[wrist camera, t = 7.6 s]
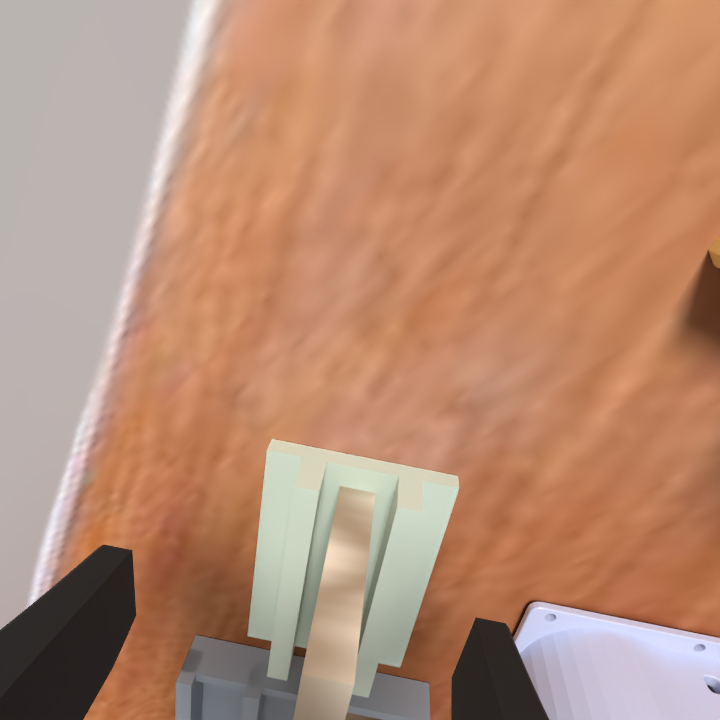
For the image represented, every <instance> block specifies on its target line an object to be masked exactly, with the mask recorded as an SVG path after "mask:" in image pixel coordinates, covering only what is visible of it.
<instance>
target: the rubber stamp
mask: <svg viewBox="0 0 720 720" xmlns="http://www.w3.org/2000/svg"><path fill="white" fill-rule="evenodd" d="M709 253H710V256H711V259H712V262H713V265H714V266H716V267H717V268H719V269H720V236H719V237H718V238H717V240H716V241H715V242H714V243H713V245H712V246H711V247H710V248H709Z"/></svg>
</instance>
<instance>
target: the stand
mask: <svg viewBox="0 0 720 720" xmlns="http://www.w3.org/2000/svg"><path fill="white" fill-rule="evenodd" d="M340 486H343V487H348V488H353V489H358V490H363V491H368V492H373V493H375V502H374V511H373V520H372V529H371V538H370V547H369V556H368V565H367V574H366V583H365V593H364V602H363V611H362V620H361V629H360V638H359V647H358V656H357V665H356V674H355V683H354V688H353V692H352V694H353V695H358V696H363V697H367V698H368V697H369V694H370V691H371V687H372V684H373V680H374V677H375V674H376V670H377V667H378V664H379V663H380V664H385V665H390V666H395V667H399V668H400V666H401V663H402V660H403V657H404V654H405V651H406V648H407V645H408V642H409V639H410V636H411V633H412V630H413V627H414V624H415V621H416V618H417V615H418V612H419V609H420V606H421V603H422V600H423V597H424V594H425V591H426V588H427V585H428V582H429V578H430V575H431V572H432V569H433V566H434V563H435V560H436V557H437V554H438V551H439V548H440V545H441V542H442V539H443V536H444V533H445V530H446V527H447V524H448V521H449V518H450V515H451V512H452V509H453V506H454V503H455V500H456V497H457V494H458V490H459V482H458V476H456V475H451V474H446V473H441V472H436V471H431V470H426V469H421V468H416V467H411V466H406V465H401V464H396V463H391V462H386V461H381V460H376V459H371V458H366V457H361V456H356V455H351V454H346V453H341V452H336V451H331V450H326V449H321V448H316V447H311V446H306V445H300V444H295V443H290V442H285V441H280V440H275V439H272V440H271V442H270V444H269V447H268V449H267V455H266V465H265V474H264V484H263V493H262V503H261V512H260V522H259V531H258V541H257V550H256V560H255V569H254V579H253V589H252V598H251V608H250V617H249V627H248V636H249V637H254V638H259V639H263V640H268V641H272V643H271V650H270V657H269V665H268V672H267V677H271V678H276V679H280V680H285V681H287V679H288V675H289V670H290V666H291V661H292V657H293V653H294V648H295V646H297V647H302V648H307V646H308V641H309V636H310V631H311V626H312V621H313V616H314V612H315V607H316V602H317V597H318V592H319V587H320V582H321V577H322V573H323V568H324V563H325V558H326V553H327V548H328V543H329V538H330V534H331V529H332V524H333V519H334V514H335V509H336V504H337V499H338V495H339V490H340Z"/></svg>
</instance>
